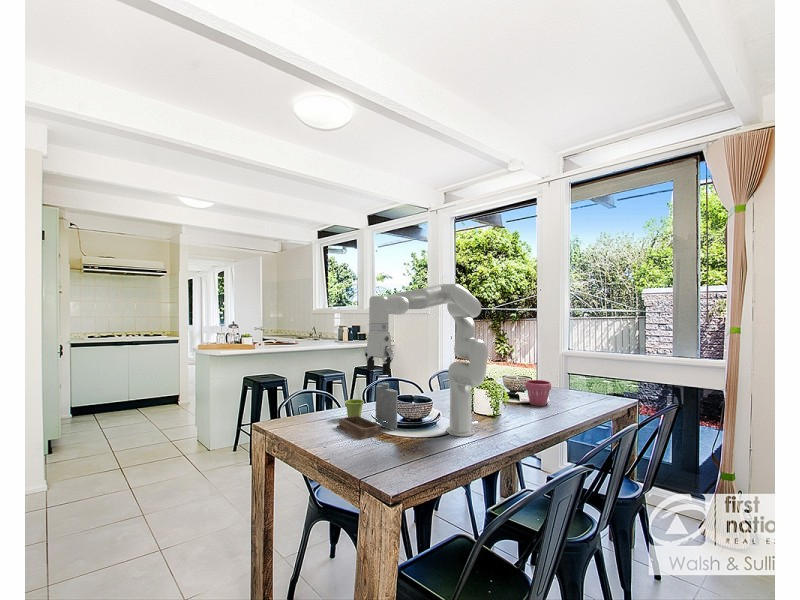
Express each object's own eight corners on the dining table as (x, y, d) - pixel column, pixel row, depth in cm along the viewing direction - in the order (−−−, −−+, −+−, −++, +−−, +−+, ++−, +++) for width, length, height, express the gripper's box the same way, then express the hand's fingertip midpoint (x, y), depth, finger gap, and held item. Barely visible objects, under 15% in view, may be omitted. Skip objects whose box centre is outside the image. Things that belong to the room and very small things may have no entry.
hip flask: (398, 429, 193) (399, 385, 193) (390, 431, 191) (391, 386, 191) (379, 421, 206) (380, 379, 206) (372, 422, 204) (373, 380, 204)
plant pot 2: (520, 401, 251) (520, 379, 251) (542, 400, 254) (542, 379, 254) (533, 407, 237) (533, 384, 237) (555, 406, 240) (556, 383, 240)
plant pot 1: (341, 420, 206) (341, 402, 206) (349, 415, 215) (349, 398, 215) (358, 422, 203) (359, 404, 203) (366, 417, 212) (366, 400, 212)
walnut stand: (359, 423, 202) (359, 415, 202) (383, 434, 186) (383, 425, 186) (336, 427, 195) (336, 419, 195) (359, 439, 179) (360, 430, 179)
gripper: (400, 328, 161) (400, 374, 161) (372, 326, 174) (372, 368, 174) (385, 329, 156) (385, 376, 156) (357, 326, 169) (357, 370, 169)
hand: (378, 371), depth 165 cm, fingers open, 9 cm apart
